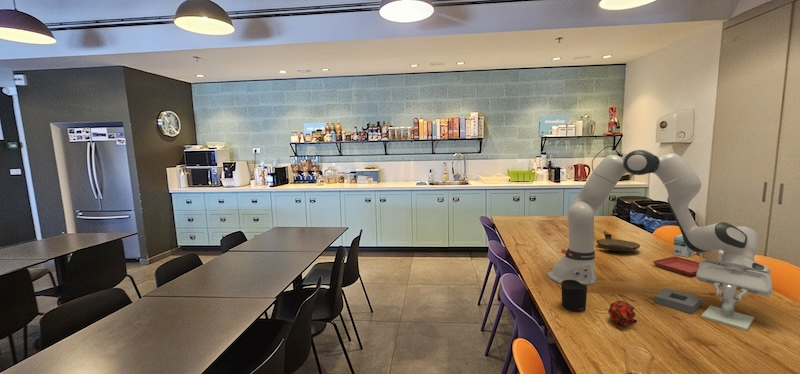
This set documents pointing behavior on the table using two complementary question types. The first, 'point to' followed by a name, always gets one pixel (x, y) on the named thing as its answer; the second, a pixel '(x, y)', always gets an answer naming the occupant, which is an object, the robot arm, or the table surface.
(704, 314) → the pad
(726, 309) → the peg
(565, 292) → the pen holder
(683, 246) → the light bulb box
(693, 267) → the plant saucer
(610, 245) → the frying pan
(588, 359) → the table surface
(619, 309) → the dragon fruit
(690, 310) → the square socket
